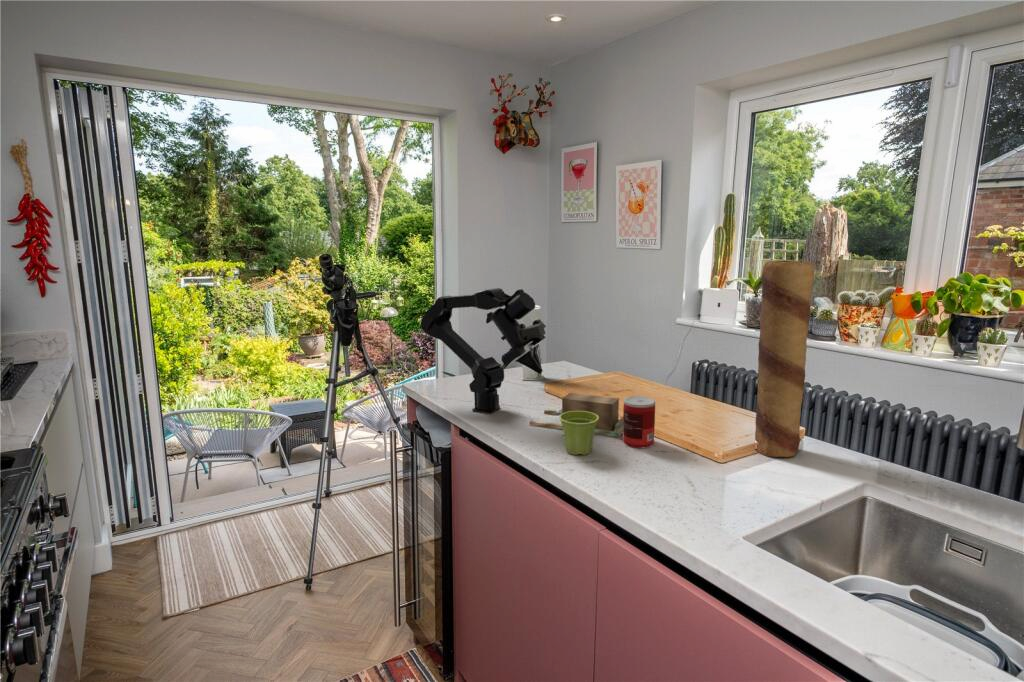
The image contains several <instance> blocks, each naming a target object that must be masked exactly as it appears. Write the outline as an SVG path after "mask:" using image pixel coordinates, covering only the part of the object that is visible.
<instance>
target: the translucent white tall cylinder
mask: <svg viewBox="0 0 1024 682" xmlns="http://www.w3.org/2000/svg"><path fill="white" fill-rule="evenodd" d="M541 316H542V308H541V306H540V305H536V304H535V308H534V309H533V310H532V311H531V312H529V313H528V314H527V315H525V316H524V317H523V318H521V319H520V322H521V323H522V324H524V325H525V326H526V327H528V326H530V325H533V321H535V320H538V319H540V320H541V321H542V318H541ZM521 323H520V324H521ZM538 344H539V347H538V350H537V354H538V358H539V361H540V364H541V365H542V357H541V341H540V342H539V343H537V344H536V345H535V346H537V345H538ZM521 365H522V379H521V380H522V381H524V382H525V381H526V382H543V380H544V377H545V374H543V373H542V372H543V371H542V372H541V373H540V374H539V373H537V372H535V371H534V370H532V369H530V368H528V367H527V366H525V365H523V364H521Z"/></svg>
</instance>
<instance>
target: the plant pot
mask: <svg viewBox="0 0 1024 682" xmlns="http://www.w3.org/2000/svg"><path fill="white" fill-rule="evenodd" d="M559 420H560V421H561V423H560V424H562V425H563V429H562V430H563V431H562V432H563V434H564V436H563V437H564V446H565V451H566V453H568V454H570V455H574V456H577V455H582V456H584V455H588V454H590V453H591V452H592V448H593V441H594V435H595V434H594V430H595V426H596V423H597V421H598V420H599V417H598V415H596V414H594V413H592V412H587V411H569V412H565V413H562V414H559Z"/></svg>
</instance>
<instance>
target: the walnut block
mask: <svg viewBox="0 0 1024 682" xmlns="http://www.w3.org/2000/svg"><path fill="white" fill-rule="evenodd" d="M619 400H620V398H619V397H611V396H601V395H594V394H593V395H591V394H583V393H575V392H569V393H568V394H566V395H565V396H564V397H562V398H561V405H562V406H561V409H562V413H565V412H569V411H587V412H592V413H594V414H596V415H598V417H599V420H598V421H597V423H596V426H595V429H600V430H608V431H615V425H616V424H617V423H618V418H619V413H620V412H619V405H620V403H619V402H620V401H619Z"/></svg>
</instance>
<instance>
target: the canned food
mask: <svg viewBox="0 0 1024 682" xmlns="http://www.w3.org/2000/svg"><path fill="white" fill-rule="evenodd" d="M622 417H623V432H622V441H623V443H624V445H627V446H628V447H631V448H637V449H646V448H650V447H652V446H653V444H654V443H655V420H656V401H655V399H654V398H653V397H652V398H651V397H648V396H641V395H638V396H637V395H636V396H635V395H633V396H628V397H625V398H624V400H623V413H622Z"/></svg>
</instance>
